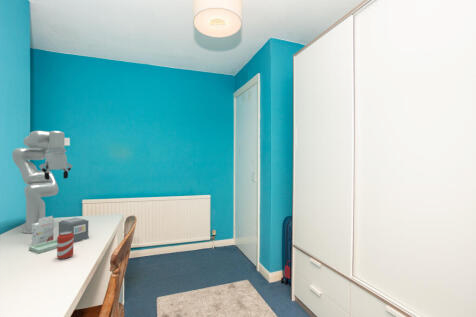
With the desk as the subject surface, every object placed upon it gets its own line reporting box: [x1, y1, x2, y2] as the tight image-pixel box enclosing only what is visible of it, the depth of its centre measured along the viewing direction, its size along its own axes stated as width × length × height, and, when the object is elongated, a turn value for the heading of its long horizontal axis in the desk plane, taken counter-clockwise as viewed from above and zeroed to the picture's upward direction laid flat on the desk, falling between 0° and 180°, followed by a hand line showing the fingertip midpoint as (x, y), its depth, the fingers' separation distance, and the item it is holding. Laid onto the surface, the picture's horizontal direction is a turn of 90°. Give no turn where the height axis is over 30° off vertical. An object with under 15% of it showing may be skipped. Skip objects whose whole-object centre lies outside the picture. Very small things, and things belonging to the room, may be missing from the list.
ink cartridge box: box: [31, 215, 54, 246], centre depth 130 cm, size 9×5×15 cm, turn 168°
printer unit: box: [57, 217, 89, 244], centre depth 136 cm, size 12×10×12 cm
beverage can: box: [56, 231, 75, 260], centre depth 111 cm, size 6×6×12 cm
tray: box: [28, 239, 57, 254], centre depth 123 cm, size 10×14×2 cm
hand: (56, 178), depth 139 cm, fingers open, 9 cm apart
